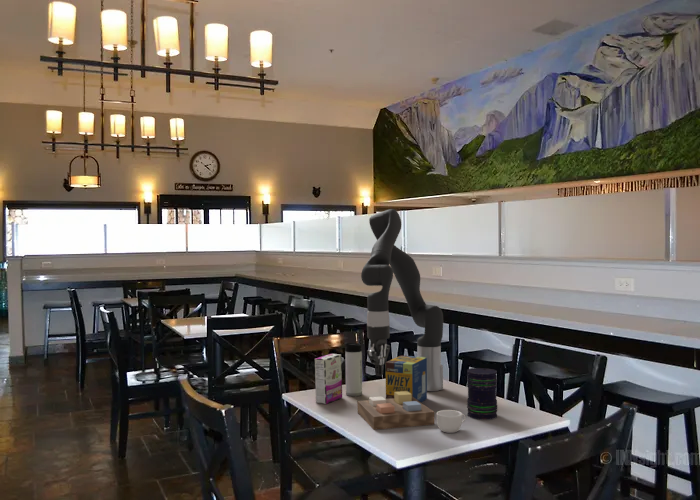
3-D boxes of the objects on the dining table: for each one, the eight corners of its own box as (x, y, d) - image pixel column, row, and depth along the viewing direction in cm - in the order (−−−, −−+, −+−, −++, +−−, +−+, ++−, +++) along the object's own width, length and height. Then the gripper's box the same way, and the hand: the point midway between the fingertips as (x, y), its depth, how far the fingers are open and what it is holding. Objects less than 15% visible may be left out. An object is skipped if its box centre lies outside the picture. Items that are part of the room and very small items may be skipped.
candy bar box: (331, 396, 229) (331, 353, 229) (342, 398, 226) (342, 354, 226) (314, 403, 220) (314, 358, 219) (325, 404, 217) (325, 359, 217)
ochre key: (407, 402, 207) (407, 391, 207) (411, 406, 202) (411, 394, 202) (394, 403, 206) (394, 391, 206) (398, 407, 201) (398, 395, 201)
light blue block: (416, 413, 198) (416, 400, 198) (421, 416, 194) (421, 404, 194) (403, 414, 197) (402, 401, 197) (407, 418, 193) (407, 405, 193)
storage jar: (491, 421, 194) (490, 375, 194) (462, 417, 199) (462, 372, 199) (501, 414, 202) (501, 369, 202) (473, 410, 208) (473, 366, 208)
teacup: (446, 436, 180) (446, 418, 180) (431, 429, 186) (431, 411, 186) (473, 431, 184) (473, 413, 184) (457, 424, 191) (457, 407, 191)
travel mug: (342, 393, 233) (341, 342, 233) (357, 391, 236) (357, 340, 236) (349, 397, 227) (348, 344, 227) (365, 395, 230) (364, 342, 230)
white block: (382, 408, 205) (381, 396, 205) (386, 411, 200) (386, 399, 200) (369, 409, 204) (368, 397, 204) (372, 412, 199) (372, 400, 199)
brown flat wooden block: (412, 408, 211) (412, 396, 211) (434, 424, 191) (434, 411, 191) (357, 412, 206) (357, 401, 206) (373, 429, 187) (373, 416, 186)
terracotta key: (390, 415, 196) (390, 402, 196) (394, 419, 192) (394, 406, 191) (376, 416, 195) (376, 404, 195) (380, 420, 190) (380, 407, 190)
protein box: (385, 405, 215) (384, 362, 215) (401, 395, 229) (401, 354, 229) (412, 408, 210) (412, 364, 210) (427, 398, 224) (427, 356, 224)
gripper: (377, 321, 210) (378, 370, 210) (358, 326, 199) (359, 378, 199) (397, 322, 206) (398, 372, 206) (378, 327, 195) (380, 380, 195)
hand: (379, 375), depth 203 cm, fingers closed
